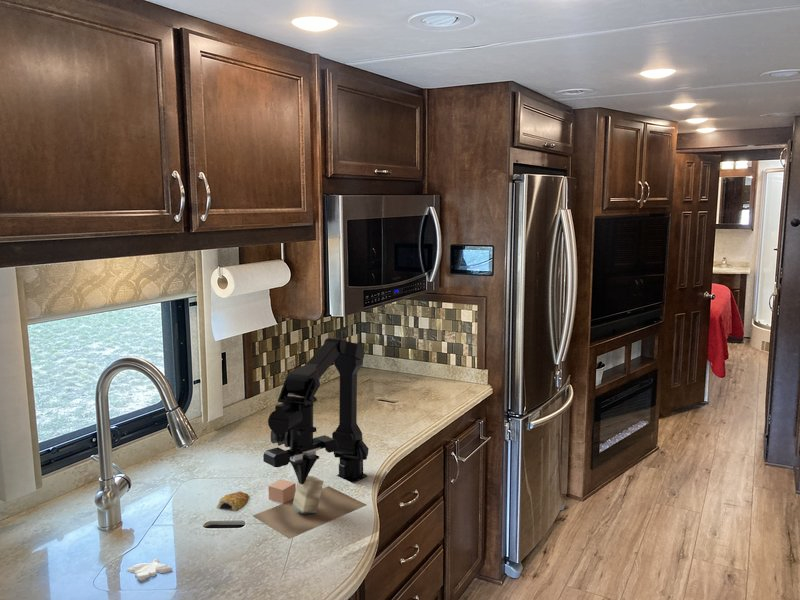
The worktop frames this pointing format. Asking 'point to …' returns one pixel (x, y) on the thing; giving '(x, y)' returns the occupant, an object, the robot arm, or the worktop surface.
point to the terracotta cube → (282, 491)
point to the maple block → (308, 495)
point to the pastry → (233, 501)
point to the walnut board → (297, 522)
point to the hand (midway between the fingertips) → (301, 483)
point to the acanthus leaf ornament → (149, 569)
